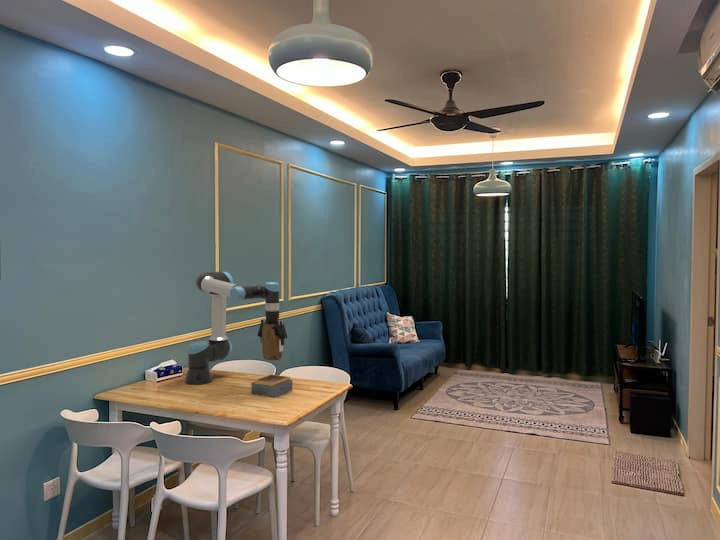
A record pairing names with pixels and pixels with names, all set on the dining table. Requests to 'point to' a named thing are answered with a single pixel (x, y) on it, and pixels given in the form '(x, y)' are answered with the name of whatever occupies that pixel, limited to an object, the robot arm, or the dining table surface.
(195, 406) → the dining table surface
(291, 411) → the dining table surface
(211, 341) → the robot arm
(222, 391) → the dining table surface
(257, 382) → the grey square tray
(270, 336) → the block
